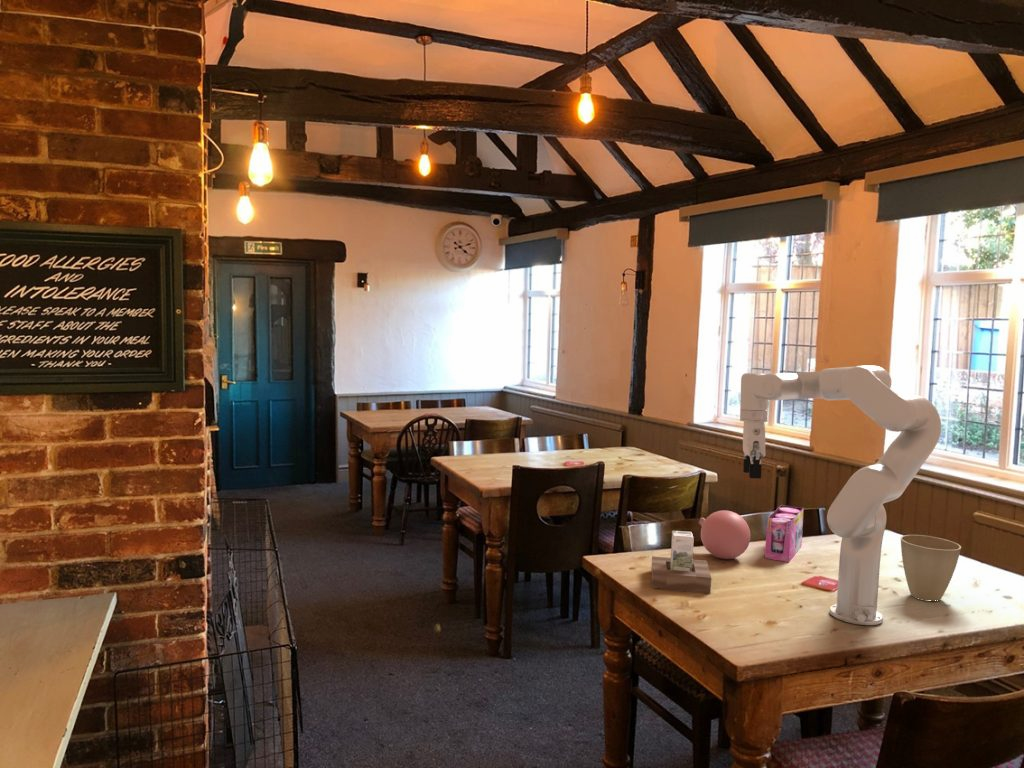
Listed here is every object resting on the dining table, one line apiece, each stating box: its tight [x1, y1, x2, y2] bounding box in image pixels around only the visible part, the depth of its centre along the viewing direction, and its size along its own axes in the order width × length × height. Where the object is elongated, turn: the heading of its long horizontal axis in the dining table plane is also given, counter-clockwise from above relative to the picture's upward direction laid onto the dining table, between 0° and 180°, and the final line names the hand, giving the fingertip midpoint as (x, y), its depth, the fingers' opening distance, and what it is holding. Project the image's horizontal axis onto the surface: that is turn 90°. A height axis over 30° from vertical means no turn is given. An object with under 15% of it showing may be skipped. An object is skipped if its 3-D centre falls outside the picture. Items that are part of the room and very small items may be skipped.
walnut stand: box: [650, 555, 712, 594], centre depth 222 cm, size 16×16×4 cm
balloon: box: [698, 509, 751, 560], centre depth 249 cm, size 15×20×15 cm
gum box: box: [764, 504, 805, 563], centre depth 255 cm, size 24×8×14 cm, turn 150°
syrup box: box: [670, 530, 695, 572], centre depth 221 cm, size 6×6×14 cm
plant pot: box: [900, 534, 962, 601], centre depth 215 cm, size 15×15×16 cm
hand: (752, 475), depth 221 cm, fingers open, 9 cm apart
